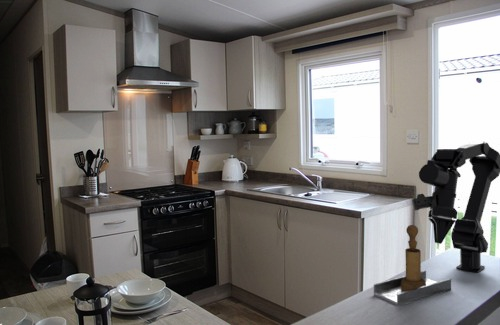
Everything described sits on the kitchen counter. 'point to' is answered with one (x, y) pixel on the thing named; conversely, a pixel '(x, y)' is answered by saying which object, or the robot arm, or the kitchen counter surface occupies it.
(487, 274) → the kitchen counter surface
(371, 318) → the kitchen counter surface
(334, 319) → the kitchen counter surface
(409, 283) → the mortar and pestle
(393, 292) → the floor track
